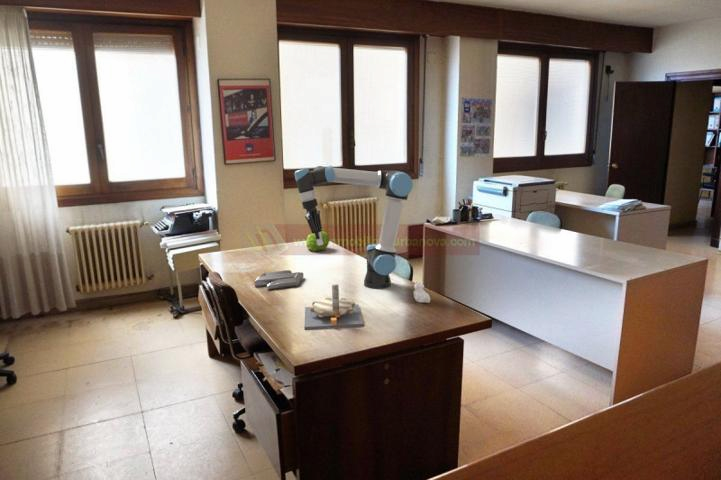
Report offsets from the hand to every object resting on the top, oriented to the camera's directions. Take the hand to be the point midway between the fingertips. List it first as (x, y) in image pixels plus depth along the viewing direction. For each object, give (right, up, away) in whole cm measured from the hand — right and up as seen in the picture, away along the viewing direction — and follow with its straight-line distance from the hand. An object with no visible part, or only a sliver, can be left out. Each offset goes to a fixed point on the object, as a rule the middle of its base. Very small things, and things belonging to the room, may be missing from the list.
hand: (320, 244), depth 252 cm
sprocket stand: (+7, -34, -20) cm, 40 cm away
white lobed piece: (+7, -30, -20) cm, 37 cm away
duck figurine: (+51, -29, -1) cm, 58 cm away
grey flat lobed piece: (-26, -23, +34) cm, 49 cm away
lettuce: (-12, -5, +111) cm, 112 cm away
